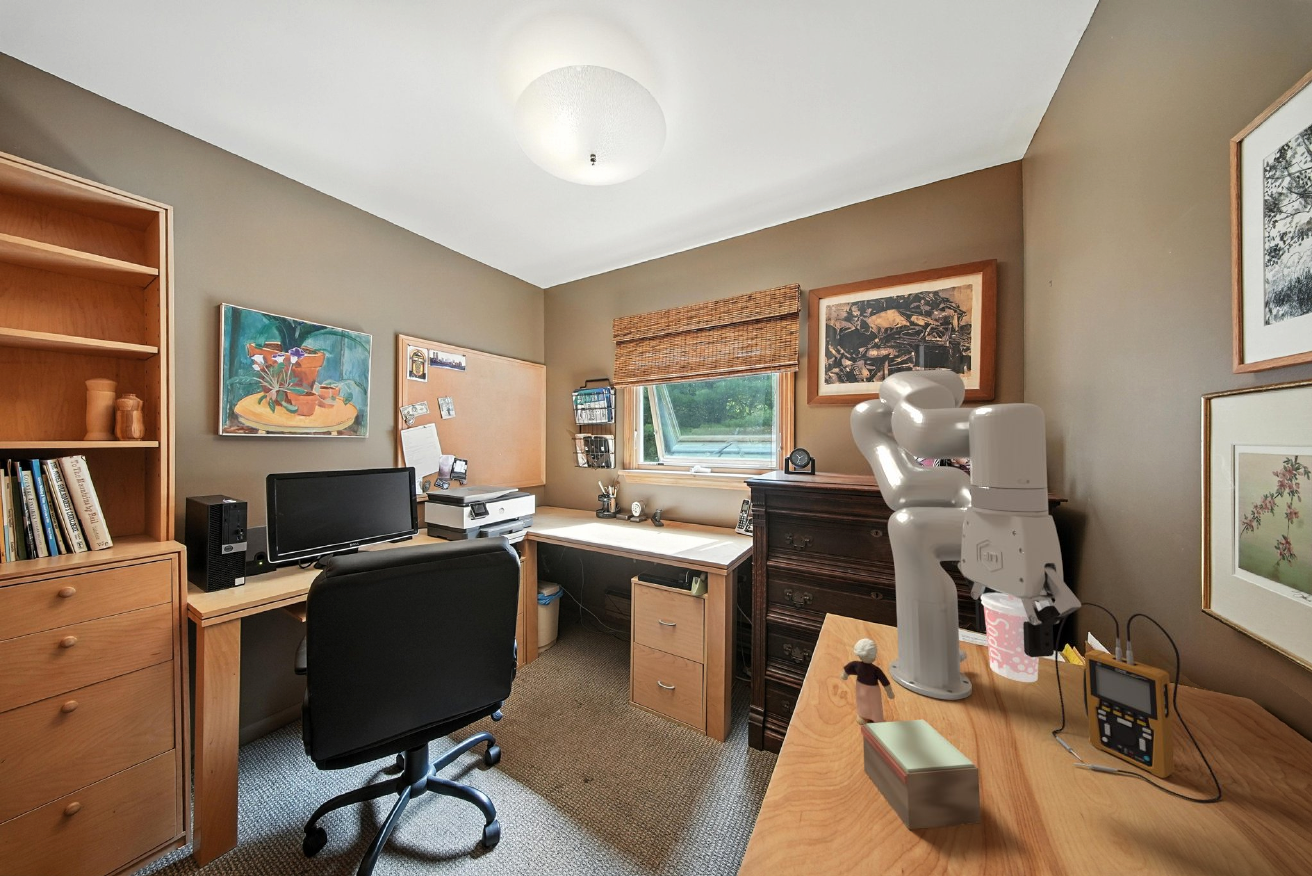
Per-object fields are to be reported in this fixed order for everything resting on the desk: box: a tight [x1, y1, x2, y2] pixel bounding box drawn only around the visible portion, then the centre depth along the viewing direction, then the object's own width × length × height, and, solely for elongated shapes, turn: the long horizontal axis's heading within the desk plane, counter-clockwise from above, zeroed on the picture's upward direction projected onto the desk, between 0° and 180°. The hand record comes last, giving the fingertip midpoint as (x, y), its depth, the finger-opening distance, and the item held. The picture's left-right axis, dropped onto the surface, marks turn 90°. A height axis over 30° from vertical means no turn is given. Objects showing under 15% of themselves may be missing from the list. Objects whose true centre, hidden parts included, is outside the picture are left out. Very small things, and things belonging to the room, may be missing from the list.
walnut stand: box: [860, 719, 982, 830], centre depth 51 cm, size 9×9×6 cm
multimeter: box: [1051, 602, 1223, 803], centre depth 55 cm, size 15×10×20 cm
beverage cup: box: [981, 592, 1042, 683], centre depth 53 cm, size 6×6×14 cm
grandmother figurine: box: [840, 637, 895, 726], centre depth 65 cm, size 8×4×13 cm, turn 57°
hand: (1012, 640), depth 53 cm, fingers closed on beverage cup, 6 cm apart
